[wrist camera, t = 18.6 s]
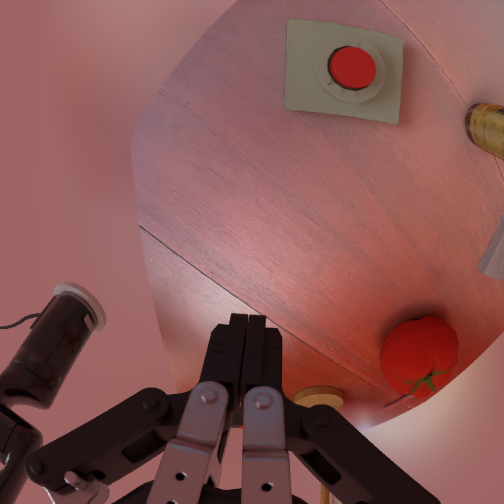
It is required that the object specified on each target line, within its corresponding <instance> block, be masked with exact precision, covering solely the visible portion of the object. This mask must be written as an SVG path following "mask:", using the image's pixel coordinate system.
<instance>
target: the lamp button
mask: <svg viewBox="0 0 504 504" xmlns="http://www.w3.org/2000/svg"><path fill="white" fill-rule="evenodd" d="M330 70H331V73H332V76H333V77H334V79H335V80H336V81H337V82H338V83H340V84H341V85H343V86H345V87H349V88H361V87H365V86H367V85H369V84H370V83H371V82H372V81H373V79H374V78H375V75H376V66H375V63H374V60H373V59H372V57H371V56H370V55H369V54H368V53H367V52H366V51H364V50H362V49H360V48H357V47H346V48H343V49H341V50H340V51H338V52H337V53H335V54H334V55H333V57H332V59H331V61H330Z"/></svg>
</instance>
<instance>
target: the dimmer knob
mask: <svg viewBox="0 0 504 504" xmlns="http://www.w3.org/2000/svg"><path fill="white" fill-rule="evenodd" d="M243 414H244V413H241V407H240V409H239V412H233V420H232V425H231V427H232V428H242V429H243Z"/></svg>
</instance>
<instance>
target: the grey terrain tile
mask: <svg viewBox="0 0 504 504" xmlns="http://www.w3.org/2000/svg"><path fill="white" fill-rule="evenodd" d="M478 268H479V270H480V271H481V272H482V273H483V274H484V275H487V276H489V277H492V278H498V279H502V280H503V279H504V214H503V217H502V219H501V221H500V223H499V225H498V228H497V230H496V232H495V234H494V236H493V238H492V240H491V242H490V244H489V246H488V248H487V250H486V252H485V254H484V256H483V258H482V259H481V261H480V263H479V265H478Z"/></svg>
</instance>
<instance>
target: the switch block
mask: <svg viewBox="0 0 504 504" xmlns="http://www.w3.org/2000/svg"><path fill="white" fill-rule="evenodd" d="M346 47H357V48H360V49H362V50H364V51H366V52H367V53H368V54H369V55H370V56H371V57H372V59H373V60H374V63H375V66H376V75H375V78H374V79H373V81H372V82H371V83H370V84H369V85H367V86H365V87H361V88H349V87H345V86H343V85H341V84H340V83H338V82H337V81H336V80H335V79H334V77H333V76H332V73H331V70H330V61H331V59H332V57H333V55H334V54H335V53H337V52H338V51H340V50H341V49H343V48H346ZM402 74H403V38H399V37H396V36H392V35H388V34H385V33H381V32H376V31H372V30H368V29H363V28H358V27H353V26H348V25H342V24H335V23H329V22H321V21H313V20H303V19H290V18H287V40H286V75H285V102H284V109H285V110H293V111H305V112H316V113H325V114H333V115H341V116H348V117H355V118H361V119H367V120H373V121H378V122H383V123H388V124H393V125H398V122H399V113H400V102H401V90H402Z"/></svg>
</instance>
